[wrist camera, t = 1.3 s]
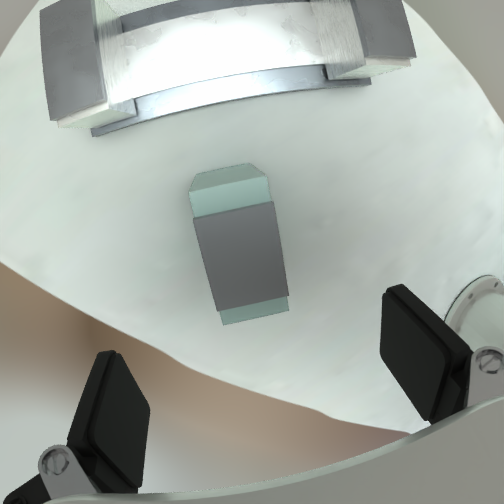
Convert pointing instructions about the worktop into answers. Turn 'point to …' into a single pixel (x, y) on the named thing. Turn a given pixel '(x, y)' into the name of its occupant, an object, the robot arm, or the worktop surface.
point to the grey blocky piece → (209, 54)
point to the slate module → (239, 242)
